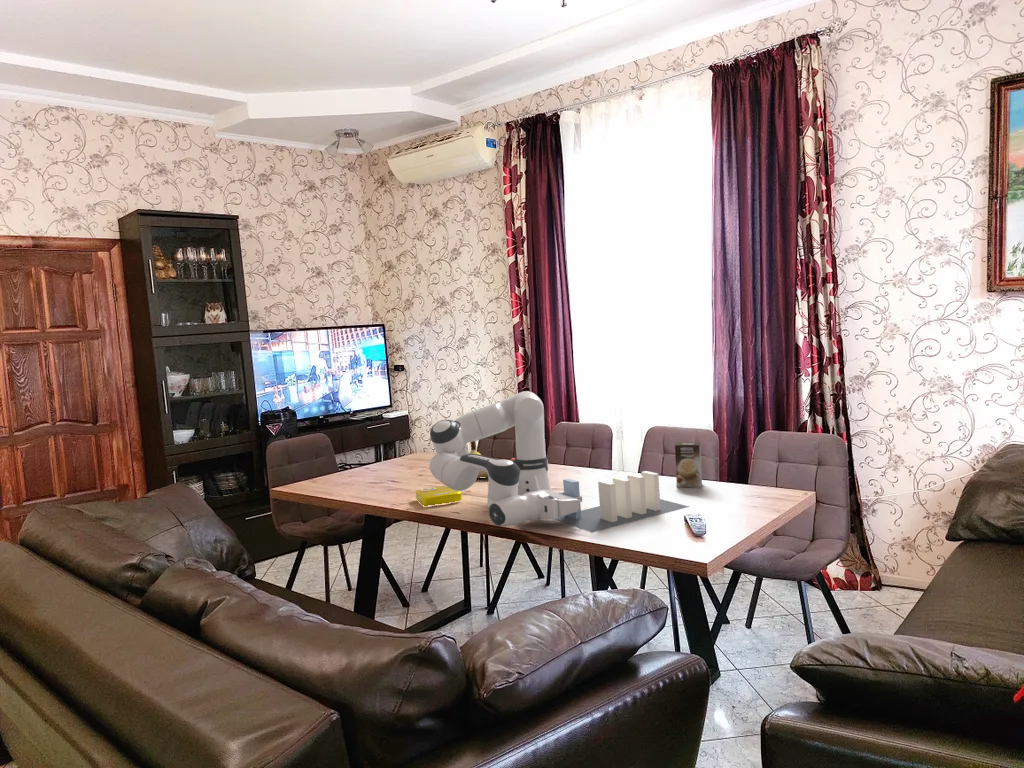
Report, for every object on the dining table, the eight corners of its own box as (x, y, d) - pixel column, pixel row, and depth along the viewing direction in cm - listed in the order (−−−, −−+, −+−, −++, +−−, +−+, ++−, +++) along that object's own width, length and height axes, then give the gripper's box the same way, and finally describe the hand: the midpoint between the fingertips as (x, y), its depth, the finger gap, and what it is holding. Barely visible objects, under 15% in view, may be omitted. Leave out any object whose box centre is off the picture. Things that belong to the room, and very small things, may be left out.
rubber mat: (592, 535, 209) (591, 532, 209) (551, 520, 228) (551, 517, 228) (689, 509, 229) (689, 506, 229) (644, 497, 248) (644, 495, 248)
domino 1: (612, 522, 218) (609, 484, 217) (600, 518, 223) (598, 481, 222) (617, 520, 219) (614, 483, 218) (605, 517, 224) (603, 480, 223)
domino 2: (627, 518, 221) (624, 481, 220) (615, 514, 226) (612, 478, 225) (632, 517, 222) (629, 480, 221) (620, 513, 227) (617, 477, 226)
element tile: (424, 509, 256) (423, 497, 256) (415, 501, 270) (414, 489, 270) (463, 503, 261) (462, 490, 261) (452, 495, 275) (451, 483, 275)
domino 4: (655, 510, 227) (653, 474, 226) (643, 507, 232) (641, 472, 231) (660, 509, 228) (658, 473, 227) (648, 506, 233) (645, 470, 232)
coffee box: (676, 487, 259) (673, 445, 258) (677, 483, 265) (675, 441, 264) (701, 487, 256) (699, 444, 255) (702, 483, 262) (700, 441, 261)
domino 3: (641, 514, 224) (639, 477, 223) (629, 510, 229) (627, 475, 228) (646, 513, 225) (644, 476, 224) (634, 509, 230) (632, 474, 229)
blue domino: (576, 519, 224) (573, 482, 223) (565, 515, 229) (563, 479, 228) (581, 517, 225) (578, 481, 224) (570, 514, 230) (568, 478, 229)
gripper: (522, 508, 230) (557, 500, 236) (557, 520, 212) (593, 511, 219) (520, 489, 229) (555, 482, 236) (555, 500, 211) (592, 492, 218)
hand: (574, 496), depth 227 cm, fingers closed on blue domino, 6 cm apart
